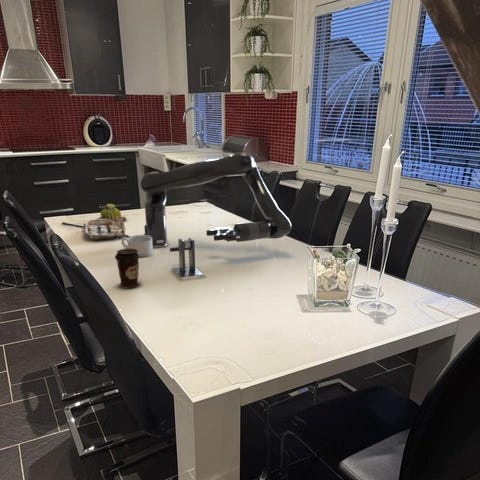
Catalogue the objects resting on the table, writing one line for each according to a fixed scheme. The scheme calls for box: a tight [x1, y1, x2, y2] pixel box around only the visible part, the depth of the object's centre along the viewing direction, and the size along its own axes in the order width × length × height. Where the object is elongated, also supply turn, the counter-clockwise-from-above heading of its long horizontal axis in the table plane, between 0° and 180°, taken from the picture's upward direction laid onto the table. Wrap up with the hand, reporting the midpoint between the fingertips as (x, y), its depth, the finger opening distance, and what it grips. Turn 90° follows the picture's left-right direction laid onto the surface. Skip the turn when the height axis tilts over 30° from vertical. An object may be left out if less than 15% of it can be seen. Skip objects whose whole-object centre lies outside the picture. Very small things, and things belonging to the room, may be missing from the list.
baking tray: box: [81, 218, 127, 241], centre depth 236 cm, size 30×22×5 cm
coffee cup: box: [114, 248, 140, 289], centre depth 167 cm, size 9×8×13 cm
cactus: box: [97, 203, 127, 223], centre depth 266 cm, size 17×16×10 cm
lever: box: [169, 239, 191, 253], centre depth 182 cm, size 12×8×2 cm, turn 24°
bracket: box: [172, 237, 204, 279], centre depth 180 cm, size 12×9×14 cm
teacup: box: [120, 234, 154, 259], centre depth 203 cm, size 14×11×8 cm
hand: (210, 235), depth 190 cm, fingers open, 8 cm apart
